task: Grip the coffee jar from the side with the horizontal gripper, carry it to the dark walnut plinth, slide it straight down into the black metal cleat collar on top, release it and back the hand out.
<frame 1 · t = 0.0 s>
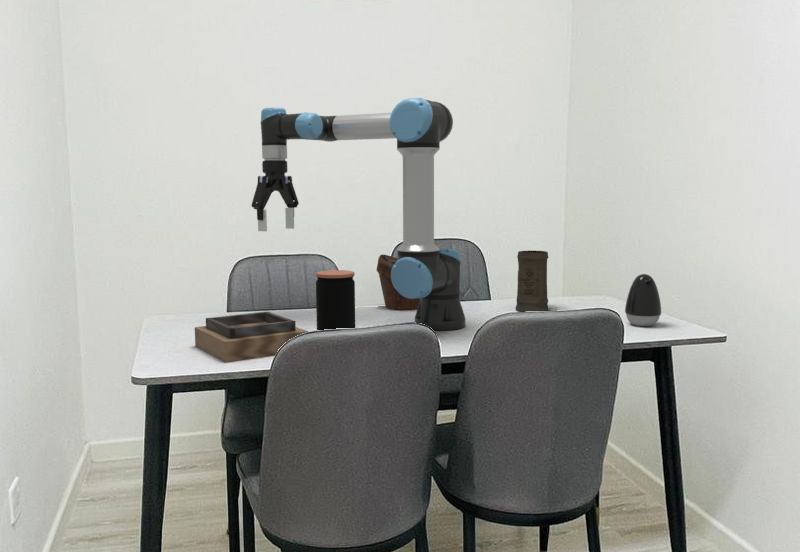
hand: (276, 230, 233), 28 cm above the table, tool pointing down, fingers open, 13 cm apart
black rounded piece: (642, 325, 224), on the table
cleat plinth: (250, 348, 197), on the table
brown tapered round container: (405, 307, 258), on the table
coffee jar: (336, 337, 210), on the table
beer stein: (532, 309, 252), on the table
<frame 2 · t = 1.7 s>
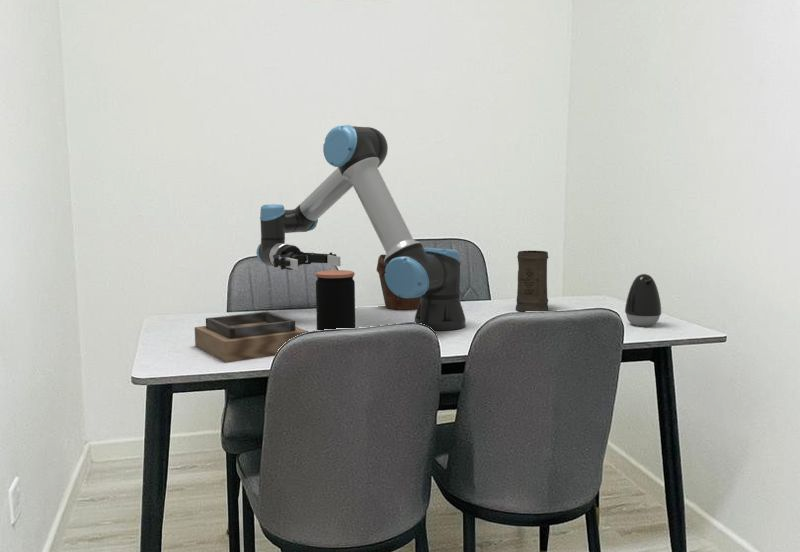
hand: (318, 263, 216), 20 cm above the table, tool horizontal, fingers open, 13 cm apart
nothing on the table moved.
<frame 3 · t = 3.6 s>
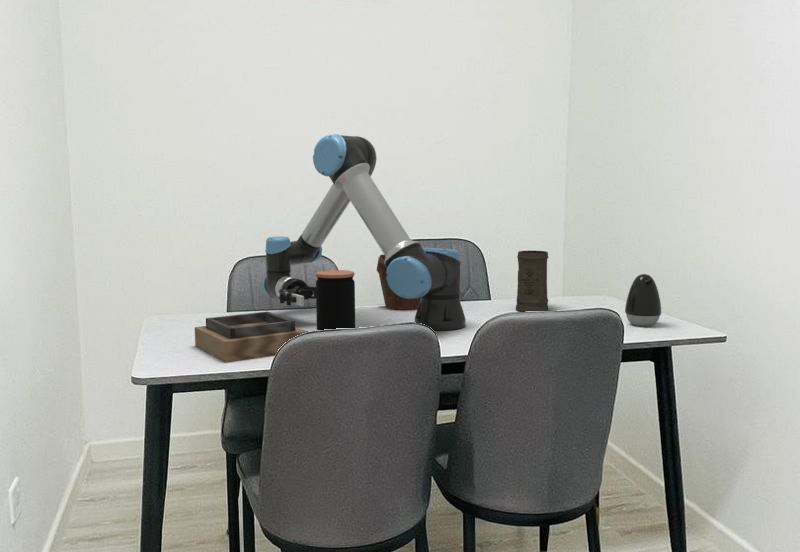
hand: (324, 299, 213), 10 cm above the table, tool horizontal, fingers open, 13 cm apart
nothing on the table moved.
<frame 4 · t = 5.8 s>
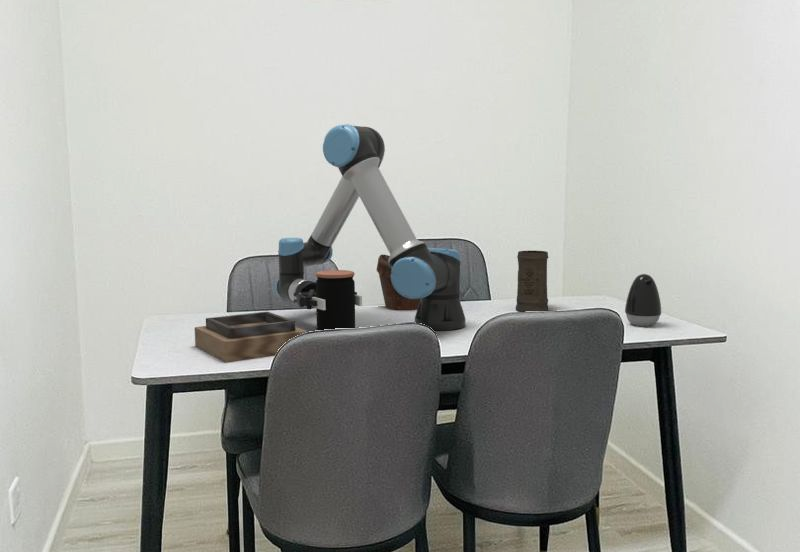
hand: (342, 303, 205), 10 cm above the table, tool horizontal, fingers closed on coffee jar, 11 cm apart
coffee jar: (336, 337, 210), on the table, touching gripper
everything else where it was.
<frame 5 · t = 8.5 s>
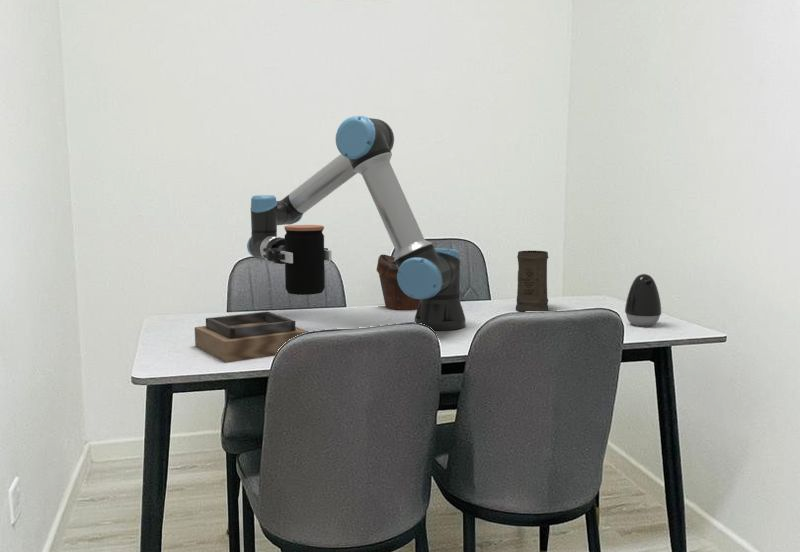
hand: (311, 256, 201), 23 cm above the table, tool horizontal, fingers closed on coffee jar, 11 cm apart
coffee jar: (305, 292, 206), point 13 cm above the table, touching gripper
everything else where it was.
when the fingers open (16 cm above the table, at t = 11.6 s): coffee jar drops 1 cm, resting on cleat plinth.
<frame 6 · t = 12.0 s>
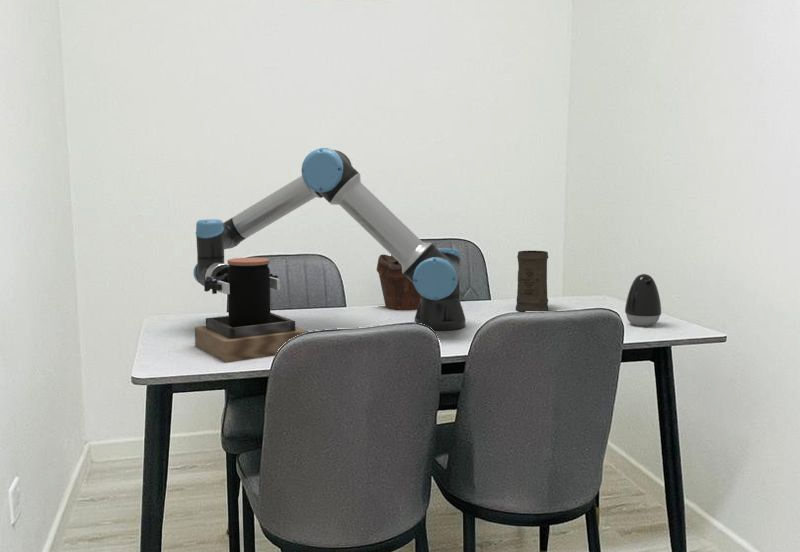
hand: (253, 286, 192), 16 cm above the table, tool horizontal, fingers open, 13 cm apart
coffee jar: (250, 329, 196), point 5 cm above the table, touching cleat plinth
everything else where it was.
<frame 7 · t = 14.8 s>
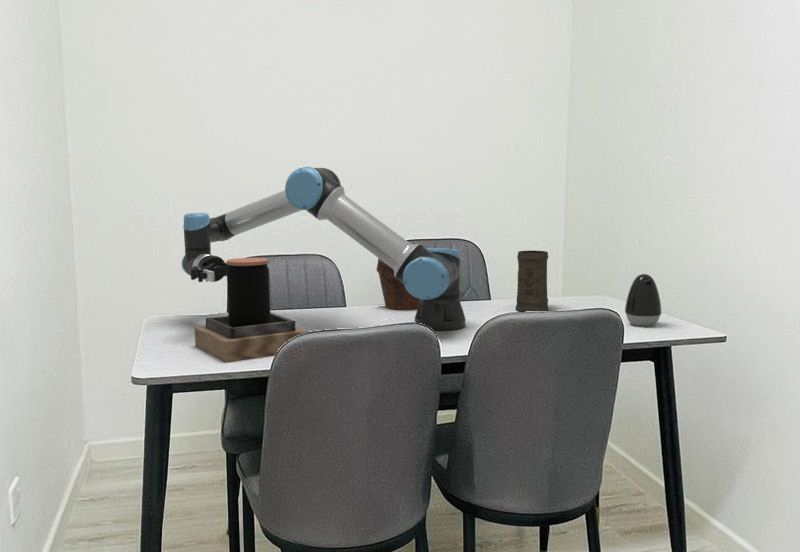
hand: (237, 274, 203), 18 cm above the table, tool horizontal, fingers open, 13 cm apart
nothing on the table moved.
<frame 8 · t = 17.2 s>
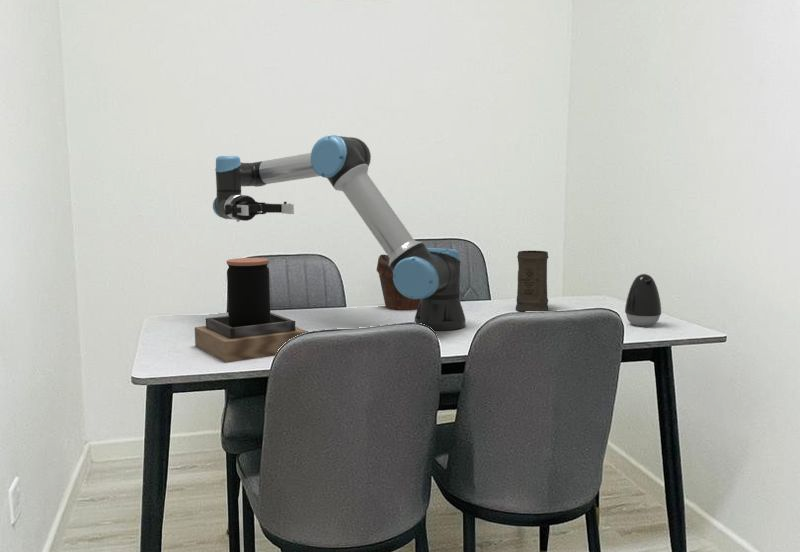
hand: (270, 209, 210), 35 cm above the table, tool horizontal, fingers open, 13 cm apart
nothing on the table moved.
at the end: coffee jar inside the target area on the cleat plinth (0.1 cm from its centre), point 4.8 cm above the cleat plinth's base; coffee jar tilted 0°; the gripper is holding nothing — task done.
